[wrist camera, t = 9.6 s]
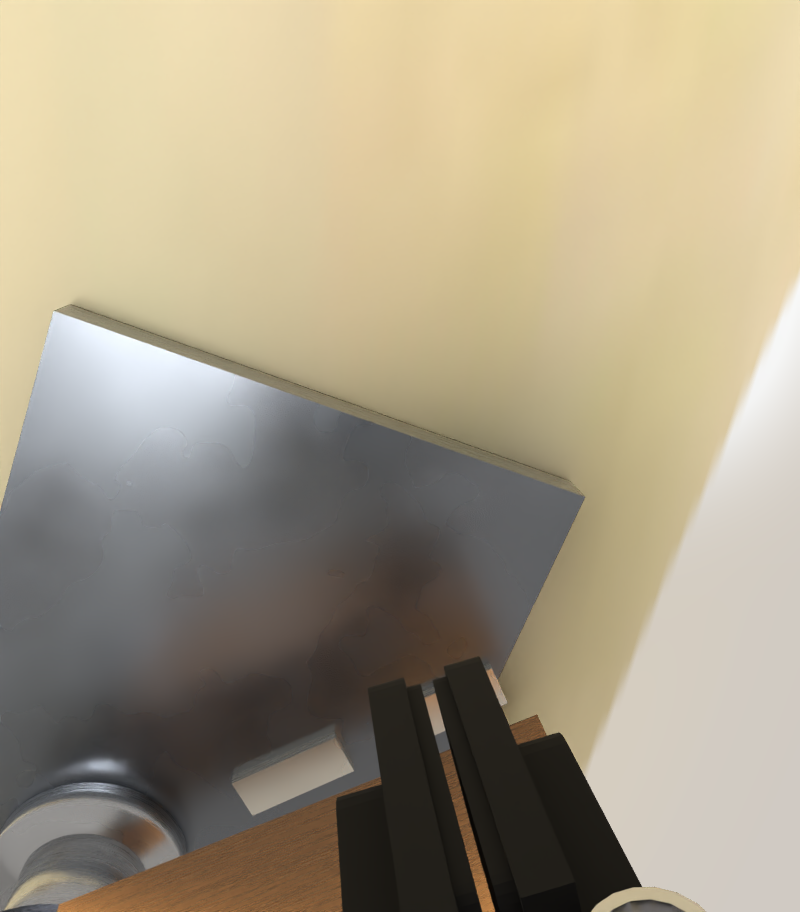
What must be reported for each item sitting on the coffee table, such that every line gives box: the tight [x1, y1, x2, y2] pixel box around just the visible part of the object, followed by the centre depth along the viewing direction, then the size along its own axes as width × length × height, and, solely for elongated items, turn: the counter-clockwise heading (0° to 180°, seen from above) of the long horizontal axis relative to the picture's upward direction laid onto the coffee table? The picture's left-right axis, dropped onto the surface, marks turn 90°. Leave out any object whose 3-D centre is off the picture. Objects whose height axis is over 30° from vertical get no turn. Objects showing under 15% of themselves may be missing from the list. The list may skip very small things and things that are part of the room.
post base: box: [0, 305, 585, 912], centre depth 19 cm, size 20×13×4 cm
